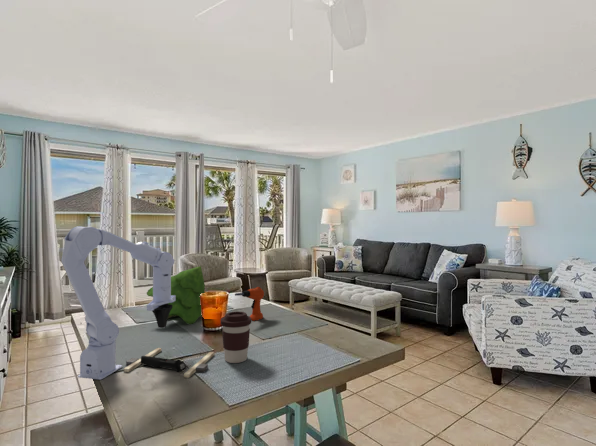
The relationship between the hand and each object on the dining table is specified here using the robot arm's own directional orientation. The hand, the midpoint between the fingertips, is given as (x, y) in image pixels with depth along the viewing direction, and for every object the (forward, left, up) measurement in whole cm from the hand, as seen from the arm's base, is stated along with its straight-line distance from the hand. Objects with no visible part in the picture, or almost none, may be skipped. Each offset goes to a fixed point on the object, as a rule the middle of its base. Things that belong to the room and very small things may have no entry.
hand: (162, 326), depth 125 cm
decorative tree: (+41, +17, -10) cm, 45 cm away
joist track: (-6, -7, -9) cm, 13 cm away
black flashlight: (-10, -6, -10) cm, 15 cm away
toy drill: (+45, -16, -10) cm, 49 cm away
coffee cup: (+1, -26, -10) cm, 28 cm away
